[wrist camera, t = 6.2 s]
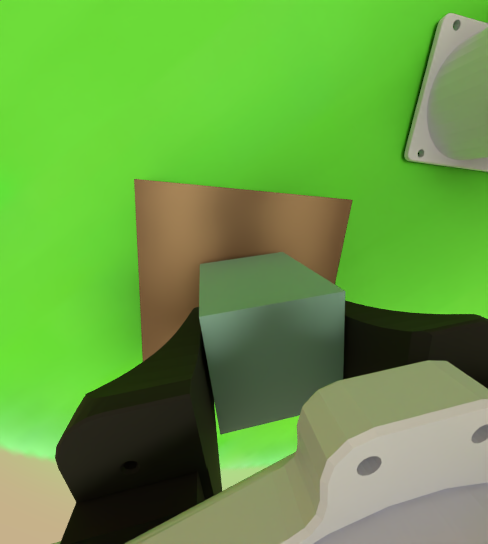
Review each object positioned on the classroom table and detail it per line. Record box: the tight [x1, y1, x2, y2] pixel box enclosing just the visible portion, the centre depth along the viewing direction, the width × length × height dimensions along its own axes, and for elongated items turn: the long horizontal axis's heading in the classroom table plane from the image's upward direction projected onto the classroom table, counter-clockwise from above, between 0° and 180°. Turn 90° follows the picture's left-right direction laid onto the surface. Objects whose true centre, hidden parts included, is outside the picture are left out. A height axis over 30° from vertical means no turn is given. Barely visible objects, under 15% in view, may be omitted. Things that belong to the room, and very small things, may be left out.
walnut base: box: [134, 179, 352, 362], centre depth 16 cm, size 12×12×3 cm
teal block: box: [199, 252, 345, 434], centre depth 11 cm, size 4×4×6 cm
